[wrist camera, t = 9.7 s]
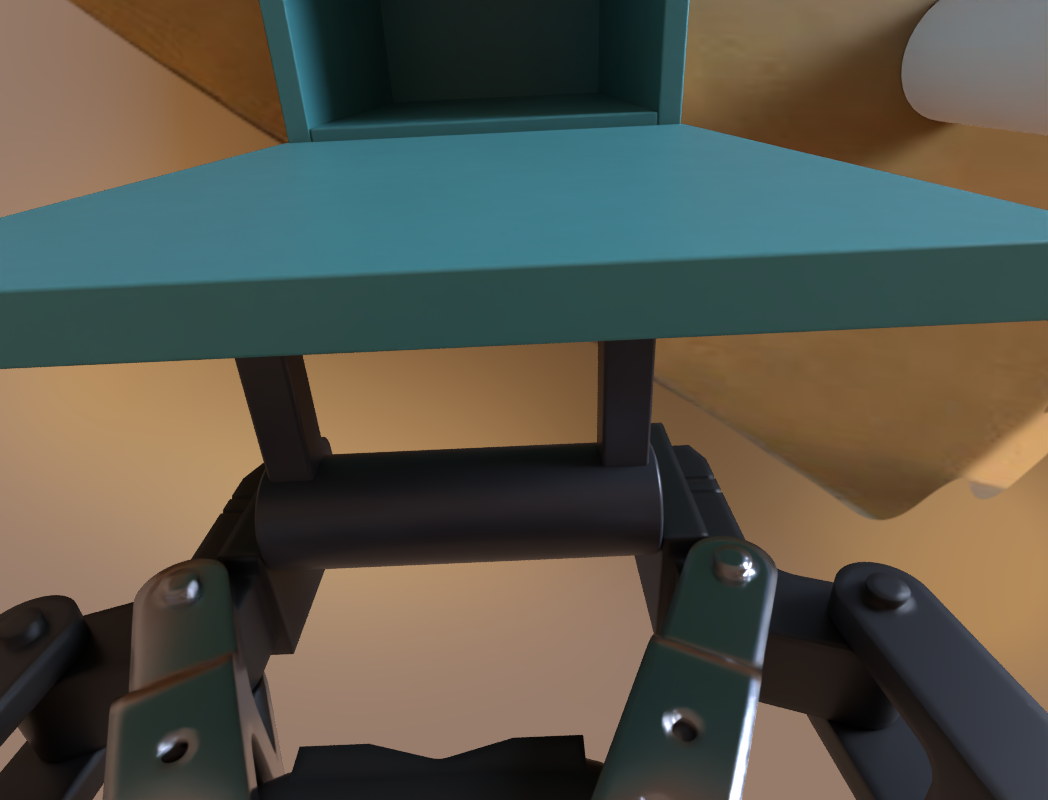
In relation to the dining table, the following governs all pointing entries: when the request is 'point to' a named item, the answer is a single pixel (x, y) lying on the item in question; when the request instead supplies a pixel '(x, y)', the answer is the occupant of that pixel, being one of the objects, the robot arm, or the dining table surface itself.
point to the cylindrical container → (981, 64)
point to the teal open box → (474, 65)
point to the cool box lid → (493, 303)
